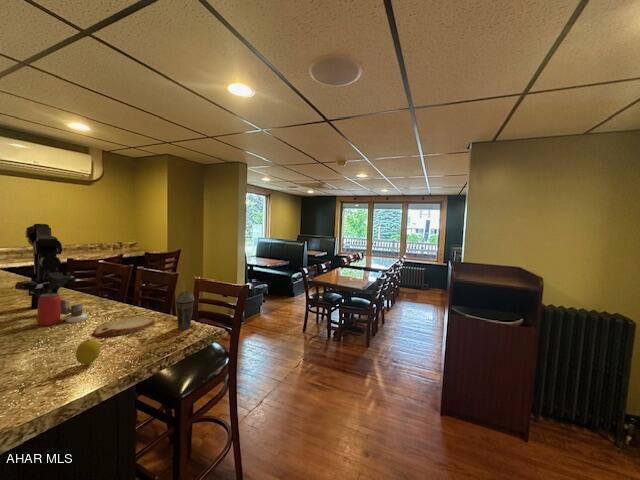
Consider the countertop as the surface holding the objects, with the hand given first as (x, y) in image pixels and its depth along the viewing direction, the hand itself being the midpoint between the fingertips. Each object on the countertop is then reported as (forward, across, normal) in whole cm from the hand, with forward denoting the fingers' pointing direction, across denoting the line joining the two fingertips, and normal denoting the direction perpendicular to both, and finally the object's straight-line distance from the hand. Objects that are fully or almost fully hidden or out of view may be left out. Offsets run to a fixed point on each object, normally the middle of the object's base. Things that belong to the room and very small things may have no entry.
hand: (47, 301), depth 120 cm
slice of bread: (+6, -1, -44) cm, 44 cm away
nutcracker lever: (+4, 0, -9) cm, 10 cm away
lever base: (+6, -1, -18) cm, 19 cm away
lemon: (+6, -27, -59) cm, 65 cm away
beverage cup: (+6, +8, -64) cm, 65 cm away
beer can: (+6, -7, -13) cm, 16 cm away
